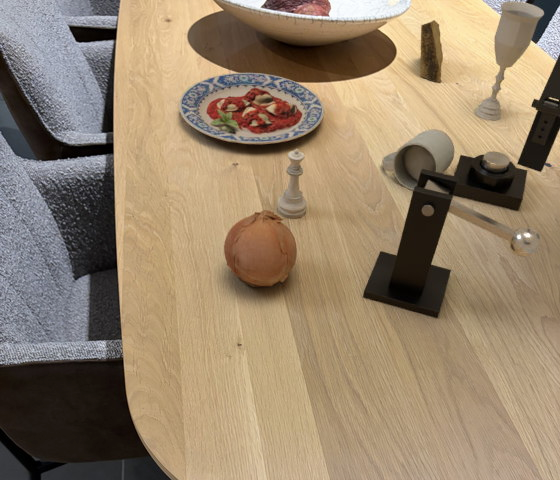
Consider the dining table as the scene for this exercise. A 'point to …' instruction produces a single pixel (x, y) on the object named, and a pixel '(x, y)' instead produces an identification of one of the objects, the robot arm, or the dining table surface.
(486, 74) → the dining table surface
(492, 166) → the push button
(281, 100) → the ceramic plate
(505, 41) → the chalice
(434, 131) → the ceramic mug
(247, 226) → the onion
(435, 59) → the rock
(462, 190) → the push button base
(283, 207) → the chess piece
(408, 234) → the lever bracket
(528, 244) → the flush lever
